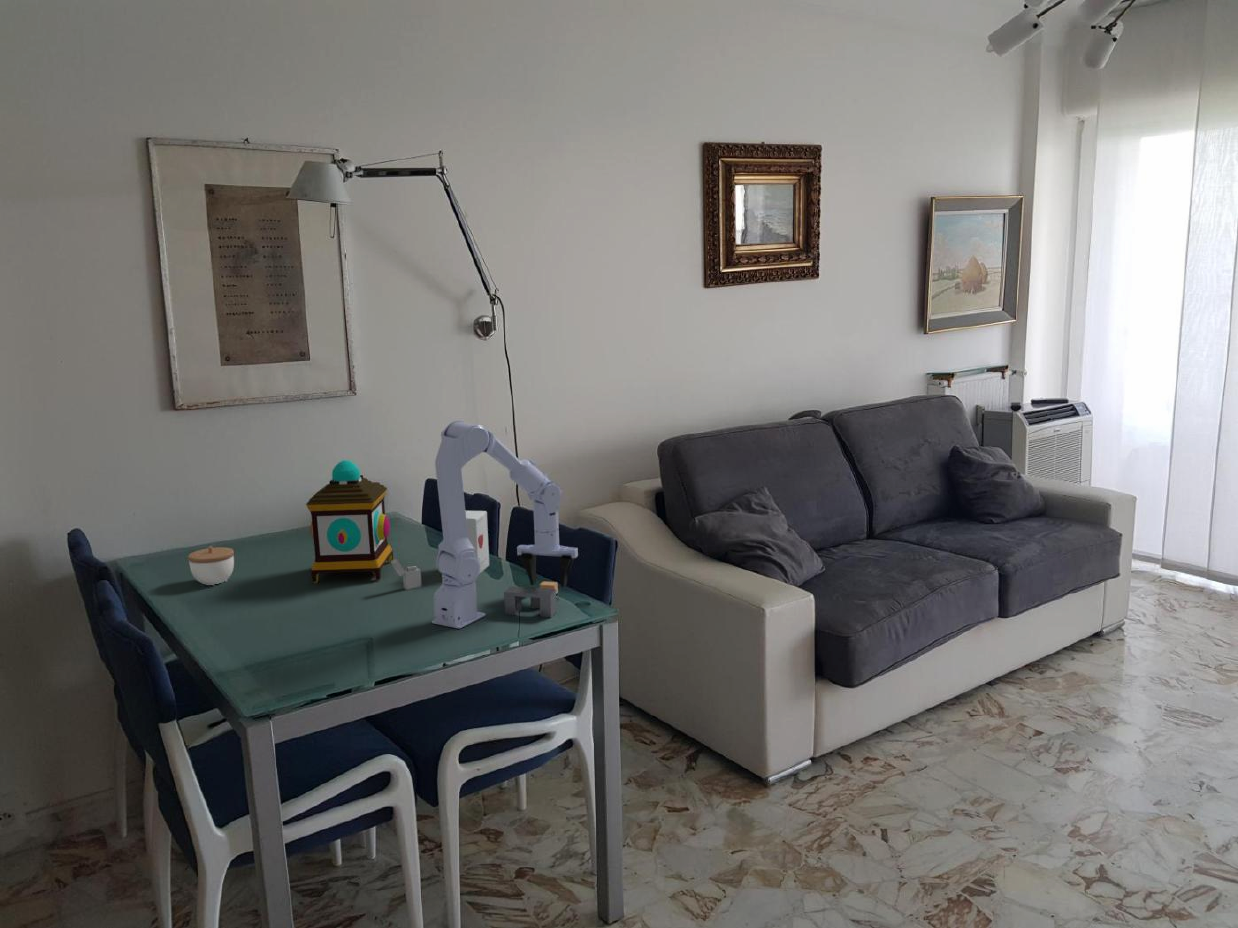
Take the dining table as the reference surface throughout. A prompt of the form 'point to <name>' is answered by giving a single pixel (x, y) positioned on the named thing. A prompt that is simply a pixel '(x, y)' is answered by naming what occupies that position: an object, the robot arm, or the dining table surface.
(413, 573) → the lighter
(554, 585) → the plug
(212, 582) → the lidded jar
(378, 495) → the decorative lantern
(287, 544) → the dining table surface
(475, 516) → the supplement box
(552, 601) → the housing
